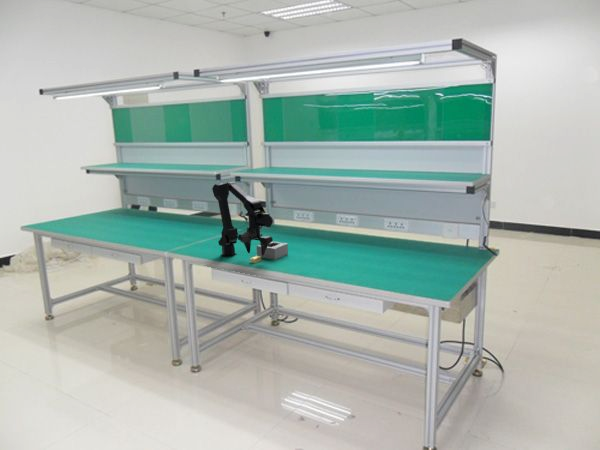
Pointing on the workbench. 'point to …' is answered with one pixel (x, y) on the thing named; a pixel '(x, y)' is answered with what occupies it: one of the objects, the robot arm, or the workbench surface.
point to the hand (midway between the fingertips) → (255, 254)
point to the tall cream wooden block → (255, 259)
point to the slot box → (274, 250)
